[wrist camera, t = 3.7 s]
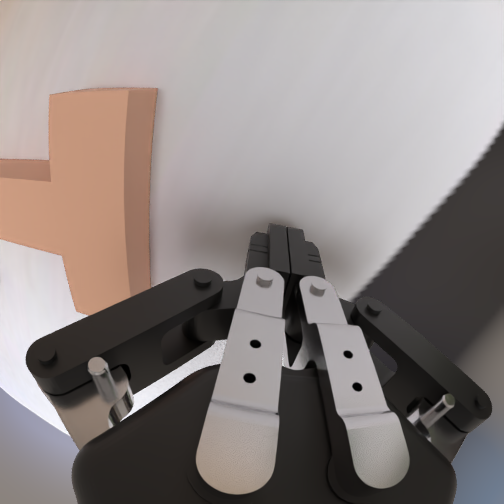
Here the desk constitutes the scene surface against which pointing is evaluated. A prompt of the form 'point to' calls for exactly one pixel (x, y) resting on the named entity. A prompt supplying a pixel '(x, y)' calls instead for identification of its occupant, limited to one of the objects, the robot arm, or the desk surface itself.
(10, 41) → the desk surface
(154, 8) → the desk surface
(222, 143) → the desk surface
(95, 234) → the T block
